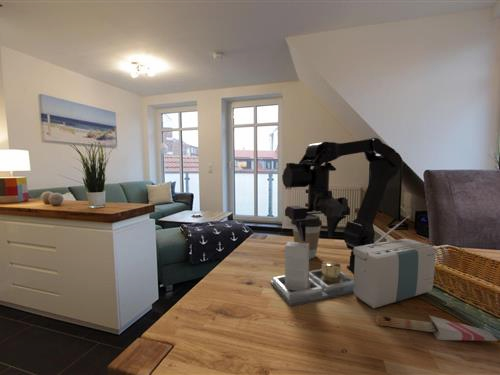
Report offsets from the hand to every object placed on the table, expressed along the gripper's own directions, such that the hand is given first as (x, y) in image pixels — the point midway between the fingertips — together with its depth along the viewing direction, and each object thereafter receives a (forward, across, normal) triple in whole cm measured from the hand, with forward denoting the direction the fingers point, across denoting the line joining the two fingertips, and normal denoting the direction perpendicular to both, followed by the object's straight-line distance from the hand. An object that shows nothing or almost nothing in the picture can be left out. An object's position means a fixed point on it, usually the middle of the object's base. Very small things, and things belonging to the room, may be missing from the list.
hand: (317, 239), depth 70 cm
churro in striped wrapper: (+12, +9, -27) cm, 31 cm away
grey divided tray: (+12, -4, -4) cm, 13 cm away
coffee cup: (+12, +7, +17) cm, 22 cm away
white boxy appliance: (+12, +13, -14) cm, 23 cm away
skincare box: (+11, -9, -4) cm, 15 cm away
